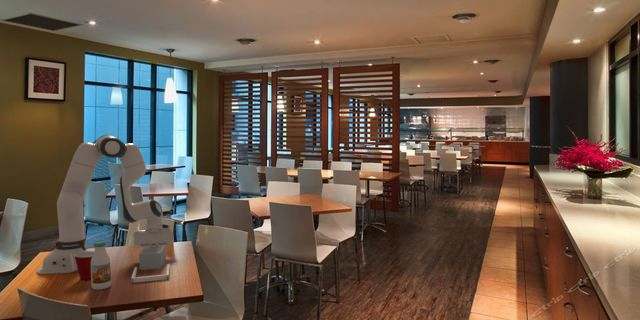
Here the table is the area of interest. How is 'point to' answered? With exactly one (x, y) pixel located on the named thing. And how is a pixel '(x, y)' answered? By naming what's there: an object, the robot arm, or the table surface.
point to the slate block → (152, 257)
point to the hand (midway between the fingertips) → (153, 251)
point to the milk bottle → (100, 267)
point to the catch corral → (149, 278)
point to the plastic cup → (84, 264)
